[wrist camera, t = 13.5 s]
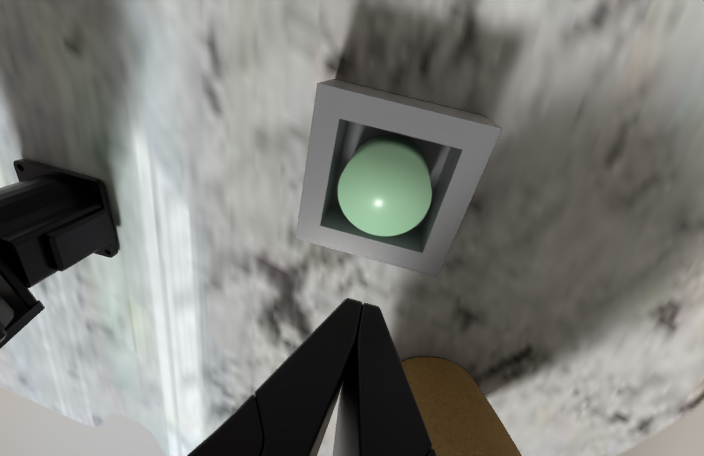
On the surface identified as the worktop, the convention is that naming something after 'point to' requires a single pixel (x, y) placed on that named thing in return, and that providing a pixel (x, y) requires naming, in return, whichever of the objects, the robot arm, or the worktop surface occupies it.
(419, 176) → the button
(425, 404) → the plant pot
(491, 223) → the worktop surface
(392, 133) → the button housing
